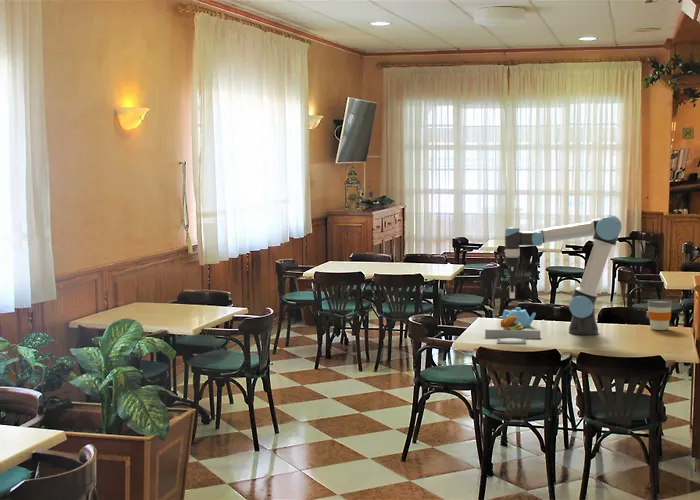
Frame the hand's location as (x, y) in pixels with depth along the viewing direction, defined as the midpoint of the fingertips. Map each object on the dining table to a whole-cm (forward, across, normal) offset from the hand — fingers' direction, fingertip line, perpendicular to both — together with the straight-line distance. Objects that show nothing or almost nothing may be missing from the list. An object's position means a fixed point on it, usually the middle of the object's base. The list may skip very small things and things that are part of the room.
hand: (512, 296), depth 439 cm
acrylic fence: (+20, +12, 0) cm, 23 cm away
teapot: (+20, -24, +4) cm, 31 cm away
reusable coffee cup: (+20, -24, +78) cm, 84 cm away
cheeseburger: (+20, 0, +1) cm, 20 cm away
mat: (+20, +23, 0) cm, 30 cm away
